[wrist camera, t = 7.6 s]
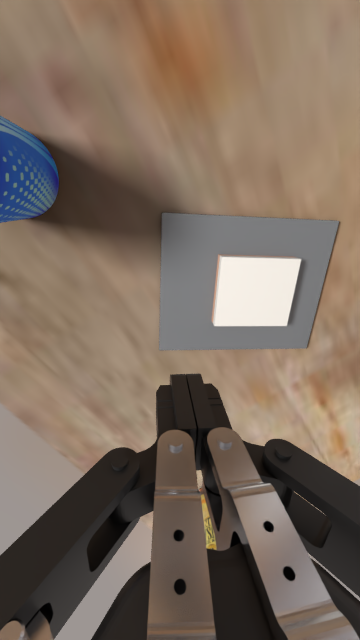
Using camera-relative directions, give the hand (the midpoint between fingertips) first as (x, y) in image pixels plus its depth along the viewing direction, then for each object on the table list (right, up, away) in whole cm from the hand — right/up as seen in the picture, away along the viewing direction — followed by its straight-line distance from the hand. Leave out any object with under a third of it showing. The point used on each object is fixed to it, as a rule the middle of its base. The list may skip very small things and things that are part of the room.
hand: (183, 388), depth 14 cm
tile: (+4, +7, +21) cm, 23 cm away
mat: (+8, +8, +23) cm, 26 cm away
